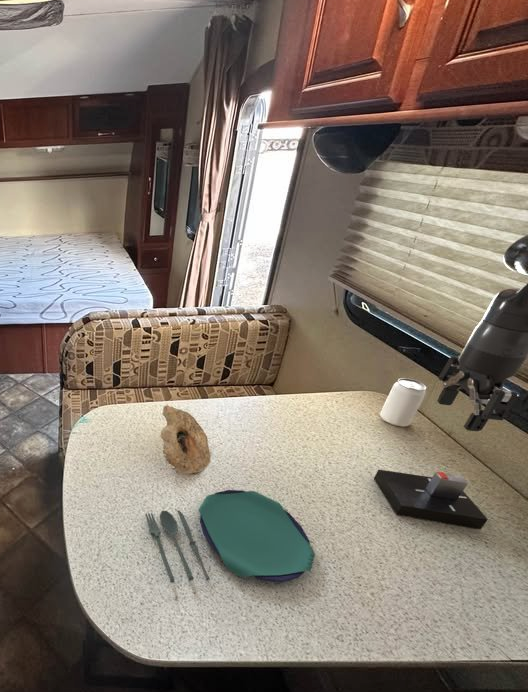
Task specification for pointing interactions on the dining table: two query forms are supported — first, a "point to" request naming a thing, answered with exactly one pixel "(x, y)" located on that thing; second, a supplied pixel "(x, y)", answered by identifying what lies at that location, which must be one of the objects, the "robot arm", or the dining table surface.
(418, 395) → the can
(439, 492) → the stove knob
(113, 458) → the dining table surface
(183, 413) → the brown hollow rock
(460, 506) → the stove
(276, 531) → the cutlery set
